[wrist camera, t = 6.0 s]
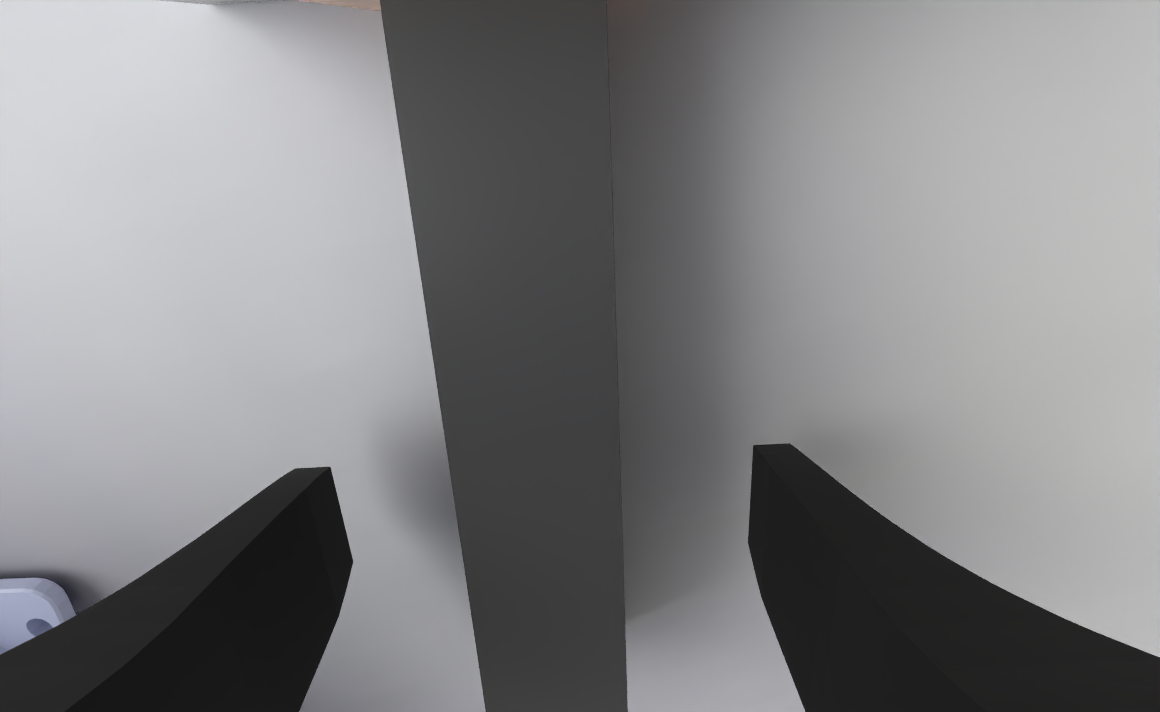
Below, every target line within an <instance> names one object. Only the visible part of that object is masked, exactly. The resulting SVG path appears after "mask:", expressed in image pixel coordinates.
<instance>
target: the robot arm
mask: <svg viewBox="0 0 1160 712" xmlns="http://www.w3.org/2000/svg"><path fill="white" fill-rule="evenodd" d="M748 544H749V549H750V553H751V557H752V561H753V566H754V570H755V574H756V578H757V582H758V586H759V590H760V594H761V597H762V600H763V602H764V605H765V608H766V611H767V613H768V616H769V618H770V621H771V624H772V626H773V629H774V632H775V634H776V637H777V639H778V642H779V645H780V647H781V650H782V652H783V655H784V657H785V660H786V663H787V665H788V668H789V670H790V673H791V675H792V678H793V681H794V683H795V686H796V688H797V691H798V694H799V696H800V699H801V701H802V704H803V706H804V709H805V712H1160V657H1157V656H1154V655H1152V654H1149V653H1146V652H1144V651H1141V650H1139V649H1136V648H1134V647H1131V646H1129V645H1126V644H1124V643H1121V642H1119V641H1116V640H1114V639H1111V638H1109V637H1106V636H1104V635H1101V634H1099V633H1096V632H1094V631H1092V630H1089V629H1087V628H1085V627H1082V626H1080V625H1078V624H1076V623H1073V622H1071V621H1069V620H1066V619H1064V618H1062V617H1060V616H1057V615H1055V614H1053V613H1051V612H1049V611H1047V610H1045V609H1043V608H1041V607H1039V606H1036V605H1034V604H1032V603H1030V602H1028V601H1026V600H1024V599H1022V598H1020V597H1018V596H1016V595H1014V594H1011V593H1010V592H1008V591H1006V590H1004V589H1002V588H1000V587H998V586H996V585H994V584H992V583H990V582H988V581H987V580H985V579H983V578H981V577H979V576H978V575H976V574H974V573H972V572H971V571H969V570H967V569H965V568H964V567H962V566H960V565H958V564H957V563H955V562H953V561H951V560H950V559H948V558H946V557H944V556H943V555H941V554H940V553H938V552H936V551H935V550H933V549H931V548H930V547H928V546H927V545H925V544H924V543H922V542H921V541H919V540H918V539H916V538H915V537H913V536H912V535H910V534H909V533H907V532H906V531H904V530H903V529H901V528H900V527H898V526H897V525H895V524H894V523H892V522H891V521H890V520H888V519H887V518H885V517H884V516H883V515H881V514H880V513H878V512H877V511H876V510H874V509H873V508H871V507H870V506H869V505H867V504H866V503H865V502H863V501H862V500H861V499H860V498H858V497H857V496H856V495H854V494H853V493H852V492H850V491H849V490H848V489H847V488H845V487H844V486H843V485H841V484H840V483H839V482H838V481H836V480H835V479H834V478H833V477H831V476H830V475H829V474H828V473H826V472H825V471H824V470H823V469H821V468H820V467H819V466H818V465H817V464H815V463H814V462H813V461H812V460H810V459H809V458H808V457H807V456H805V455H804V454H803V453H802V452H800V451H799V450H798V449H797V448H795V447H794V446H792V445H791V444H790V443H789V444H769V445H753V461H752V480H751V498H750V517H749V535H748ZM352 564H353V559H352V555H351V551H350V547H349V542H348V538H347V534H346V530H345V526H344V522H343V517H342V513H341V509H340V505H339V501H338V497H337V492H336V488H335V484H334V480H333V476H332V472H331V468H330V467H317V468H297V469H294V470H292V471H290V472H289V473H287V474H286V475H284V476H282V477H281V478H280V479H278V480H277V481H275V482H274V483H272V484H271V485H270V486H268V487H267V488H265V489H264V490H263V491H261V492H260V493H258V494H257V495H256V496H254V497H253V498H252V499H250V500H249V501H248V502H246V503H245V504H244V505H242V506H241V507H239V508H238V509H237V510H235V511H234V512H233V513H231V514H230V515H229V516H227V517H226V518H224V519H223V520H222V521H220V522H219V523H218V524H216V525H215V526H213V527H212V528H211V529H209V530H208V531H207V532H205V533H204V534H203V535H201V536H200V537H198V538H197V539H196V540H194V541H193V542H191V543H190V544H188V545H187V546H185V547H184V548H182V549H181V550H179V551H178V552H176V553H175V554H173V555H172V556H170V557H169V558H167V559H166V560H164V561H163V562H162V563H160V564H159V565H157V566H156V567H154V568H153V569H151V570H150V571H148V572H147V573H145V574H144V575H142V576H141V577H139V578H138V579H136V580H135V581H133V582H131V583H130V584H128V585H127V586H125V587H123V588H122V589H120V590H118V591H117V592H115V593H114V594H112V595H110V596H109V597H107V598H105V599H103V600H102V601H100V602H98V603H97V604H95V605H93V606H91V607H90V608H88V609H86V610H84V611H83V612H81V613H79V614H77V615H76V614H75V611H74V609H73V607H72V605H71V603H70V600H69V598H68V596H67V594H66V593H65V591H64V590H63V588H62V587H60V586H59V585H58V584H56V583H55V582H53V581H50V580H47V579H42V578H15V579H0V712H299V710H300V708H301V705H302V703H303V701H304V698H305V696H306V693H307V691H308V689H309V686H310V684H311V682H312V679H313V677H314V675H315V672H316V670H317V668H318V665H319V663H320V661H321V658H322V656H323V653H324V651H325V648H326V646H327V644H328V641H329V639H330V636H331V634H332V632H333V629H334V627H335V624H336V622H337V619H338V617H339V613H340V610H341V606H342V603H343V599H344V596H345V592H346V588H347V584H348V580H349V576H350V572H351V568H352Z"/></svg>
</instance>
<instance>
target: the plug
mask: <svg viewBox="0 0 1160 712" xmlns="http://www.w3.org/2000/svg"><path fill="white" fill-rule="evenodd" d="M297 1H304V2H312V3H320V4H328V5H336V6H344V7H352V8H360V9H367V10H375V11H379V10H381V13H382V20H383V26H384V33H385V40H386V46H387V53H388V60H389V66H390V73H391V80H392V87H393V93H394V100H395V107H396V113H397V120H398V127H399V133H400V140H401V147H402V153H403V160H404V167H405V174H406V180H407V187H408V194H409V200H410V207H411V214H412V220H413V227H414V234H415V240H416V247H417V254H418V261H419V267H420V274H421V281H422V287H423V294H424V301H425V307H426V314H427V321H428V327H429V334H430V341H431V348H432V354H433V361H434V368H435V374H436V381H437V388H438V394H439V401H440V408H441V414H442V421H443V428H444V435H445V441H446V448H447V455H448V461H449V468H450V475H451V481H452V488H453V495H454V501H455V508H456V515H457V522H458V528H459V535H460V542H461V548H462V555H463V562H464V568H465V575H466V582H467V588H468V595H469V602H470V609H471V615H472V622H473V629H474V635H475V642H476V649H477V655H478V662H479V669H480V675H481V682H482V689H483V696H484V702H485V709H486V712H628V707H627V674H626V641H625V607H624V574H623V541H622V507H621V474H620V440H619V407H618V374H617V340H616V307H615V273H614V240H613V207H612V173H611V140H610V106H609V73H608V40H607V6H606V0H297Z"/></svg>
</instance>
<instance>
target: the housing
mask: <svg viewBox="0 0 1160 712" xmlns="http://www.w3.org/2000/svg"><path fill="white" fill-rule="evenodd" d="M161 1H172V2H184V3H196V4H207V5H208V4H226V3H244V2H263V1H281V0H161Z"/></svg>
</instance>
